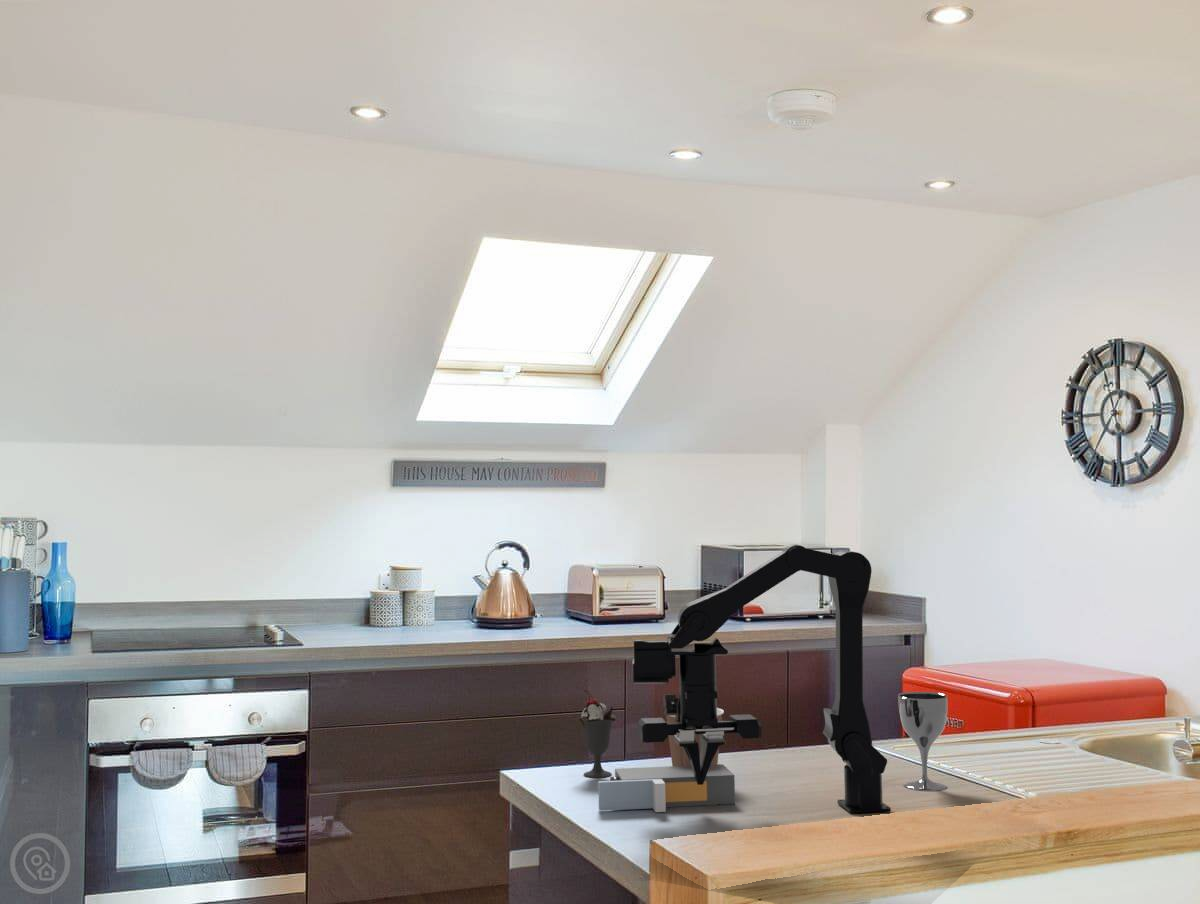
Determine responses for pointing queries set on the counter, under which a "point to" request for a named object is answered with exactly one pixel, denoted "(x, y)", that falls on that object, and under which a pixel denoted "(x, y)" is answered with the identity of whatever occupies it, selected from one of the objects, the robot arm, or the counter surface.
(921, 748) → the wine glass
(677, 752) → the coffee cup
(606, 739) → the sundae
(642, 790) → the side door
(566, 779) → the counter surface
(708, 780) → the sliding door box
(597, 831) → the counter surface
